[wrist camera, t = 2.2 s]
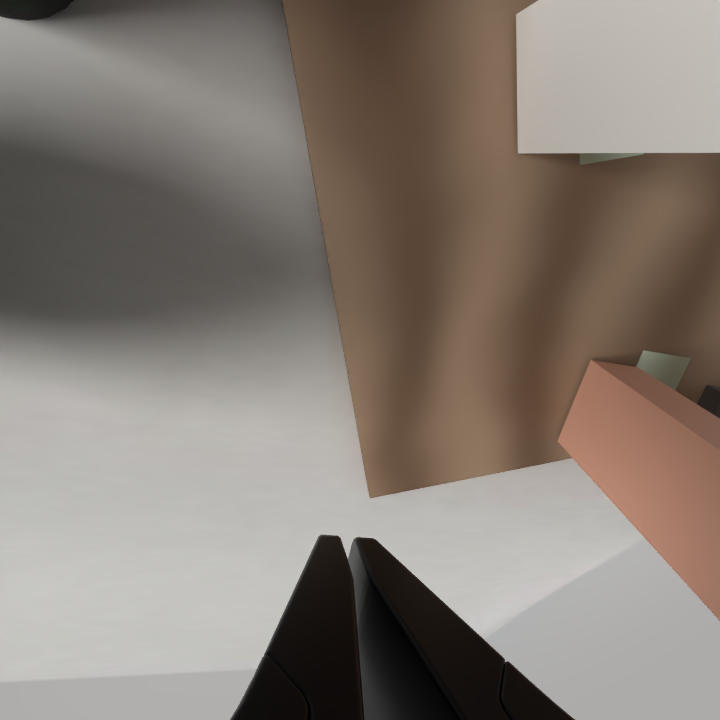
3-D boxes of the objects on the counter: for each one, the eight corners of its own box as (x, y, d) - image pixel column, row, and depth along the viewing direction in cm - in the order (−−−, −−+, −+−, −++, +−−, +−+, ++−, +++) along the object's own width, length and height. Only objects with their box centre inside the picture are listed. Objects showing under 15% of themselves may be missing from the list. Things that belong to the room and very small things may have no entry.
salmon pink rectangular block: (557, 441, 24) (719, 620, 15) (590, 359, 22) (796, 504, 13) (602, 446, 24) (786, 623, 15) (637, 367, 23) (868, 512, 13)
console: (370, 505, 25) (383, 565, 22) (260, -125, 15) (247, -215, 11) (714, 436, 26) (782, 482, 22) (829, -200, 16) (988, -307, 12)
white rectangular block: (517, 153, 18) (739, 152, 9) (516, 14, 16) (788, -160, 7) (581, 142, 18) (863, 131, 9) (586, 4, 17) (942, -183, 7)
